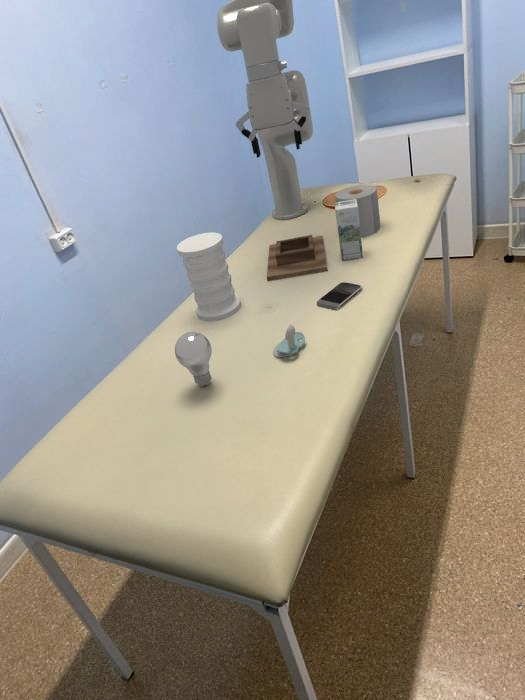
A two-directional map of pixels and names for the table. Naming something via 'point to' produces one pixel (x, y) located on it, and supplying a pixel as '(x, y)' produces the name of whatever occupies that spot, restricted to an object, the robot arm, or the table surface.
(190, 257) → the decorative container
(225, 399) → the table surface
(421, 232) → the table surface
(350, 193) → the toilet paper roll
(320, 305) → the cell phone
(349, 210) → the syrup box
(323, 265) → the stand
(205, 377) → the light bulb
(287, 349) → the pacifier
